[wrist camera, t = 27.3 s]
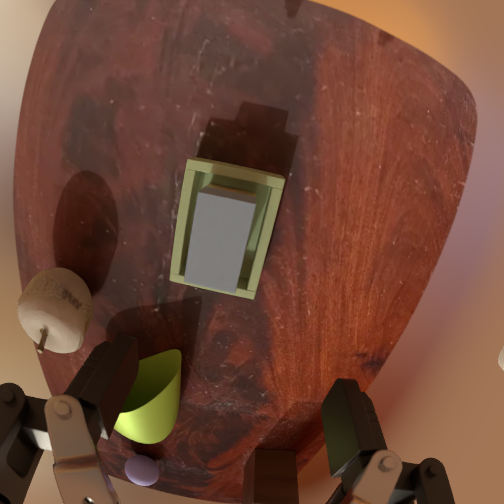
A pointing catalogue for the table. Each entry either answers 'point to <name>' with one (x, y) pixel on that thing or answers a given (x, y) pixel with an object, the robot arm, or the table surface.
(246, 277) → the olive green tray
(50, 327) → the decorative object
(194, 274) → the rubber pad
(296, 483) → the stand
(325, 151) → the table surface
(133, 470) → the sphere
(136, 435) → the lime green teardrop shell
